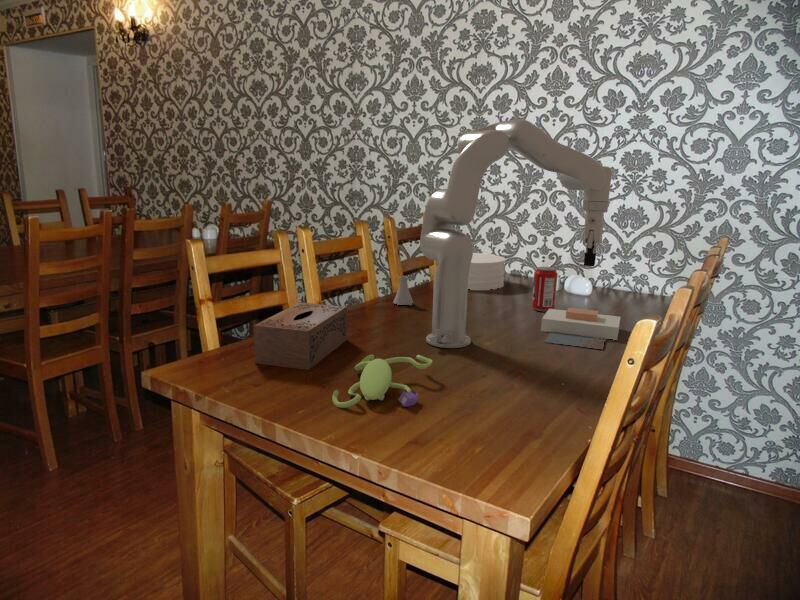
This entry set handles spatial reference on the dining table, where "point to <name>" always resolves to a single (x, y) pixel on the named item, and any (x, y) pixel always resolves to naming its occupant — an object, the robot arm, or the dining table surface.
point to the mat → (569, 339)
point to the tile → (582, 314)
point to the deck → (581, 325)
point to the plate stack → (486, 272)
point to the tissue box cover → (300, 335)
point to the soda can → (544, 289)
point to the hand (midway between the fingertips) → (589, 265)
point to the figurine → (381, 381)
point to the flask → (403, 293)
